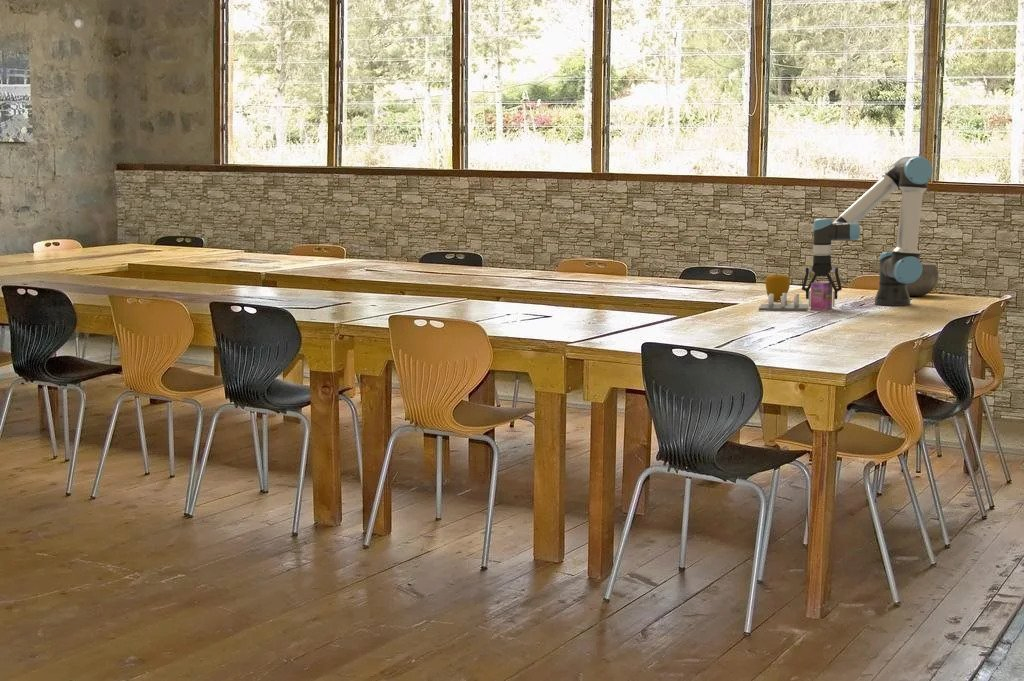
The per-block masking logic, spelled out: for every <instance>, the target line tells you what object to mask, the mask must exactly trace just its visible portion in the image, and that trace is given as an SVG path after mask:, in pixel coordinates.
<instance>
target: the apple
mask: <svg viewBox="0 0 1024 681" xmlns="http://www.w3.org/2000/svg"><path fill="white" fill-rule="evenodd" d="M764 282H765V289H766V290H765V291H766V294H767V297H768V296H769V295H770V294H774V300H781V296H783V293H787V294H788V293H789V290H790V285H791V284H790V279H789V276H788V275H787V274H778V273H777V272H776V274H772V273H771V274H768V275H767V276H766V277H765V281H764Z"/></svg>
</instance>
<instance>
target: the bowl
mask: <svg viewBox="0 0 1024 681" xmlns="http://www.w3.org/2000/svg"><path fill="white" fill-rule="evenodd" d="M921 264H922V263H921ZM938 280H939V271H938V267H937V266H936V265H935V264H922V274H921V276H920V277H919V278H918V279H917V280H916V281H914V282H912V283H907V290H908V293H909V297H910V296H911V297H913V296H914V297H915V296H916V297H920V296H921V297H922V296H926V295H928V294H930V293H931V292H933V290H934V289H935V287H936V286H937V284H938Z"/></svg>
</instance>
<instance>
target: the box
mask: <svg viewBox="0 0 1024 681" xmlns="http://www.w3.org/2000/svg"><path fill="white" fill-rule="evenodd" d="M810 291H811V306H810V311H820V312H821V311H822V312H823V311H826V310H830V309H832V308H833V287H832V285H831V283H830V281H829V280H819V281H814V282H813V283H811V288H810Z"/></svg>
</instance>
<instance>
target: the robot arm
mask: <svg viewBox="0 0 1024 681" xmlns="http://www.w3.org/2000/svg"><path fill="white" fill-rule="evenodd" d="M933 173H934V168H933V165H932V163H931V162H930V160H929V159H927V158H926V157H923V156H920V155H919V156H918V155H912V156H904V157H901V158H899V159H898V160H897V161H896V162H894V163H893V164H892V165H891V166H890V167H889V168H888V169H887V170H886V171H885V172H884V173H882V175H881V178H880V179H879V180H878V181H877V182H875V184H874V185H872V186H871V187H870V188H869V189H868V190H867V191H865V192H864V194H863V195H862V196H860V197H859V198H858V199H857V200H856V201H855V202H854V203H853V204H851V205H850V206H849V207H848V208H846V210H845V211H844V212H843V213H841V214H840V215H839V216H838V217H837V218H836V219H835V220H833V221H832V219H831V218H816V219H814V220H813V226H812V227H813V230H812V231H813V232H812V234H813V245H812V249H813V250H812V254H813V256H812V267H805V274H804V278H803V282H802V287H801V290H802V291H804V292H805V299H806V300H808V308H811V283H814V282H816V281H815V280H816V279H817V277H827V279H828V280H827V281H830V283H831V285H832V287H833V288H832V308H835V302H836V301H835V300H838V292H839V291H842V289H843V288H842V283H841V280H840V276H839V275H840V274H839V267H833V266H832V255H831V254H832V242H833V241H834V242H835V241H850V242H851V241H857V240H859V239H860V236H861V228H860V225H859V222H861V221H862V219H863V218H865V217H866V216H867V215H868V214H869V213H871V212H872V211H873V210H874V209H875V208H876V207H878V205H880V203H882V202H883V201H884V200H885V199H886V198H887V197H889V196H890V195H891V194H892V193H893V192H897V191H899V190H900V191H901V200H900V209H899V210H900V211H899V218H898V219H899V220H898V228H897V229H898V230H897V238H896V239H897V240H896V247H894V249H892V251H885V252H882V253H880V254H879V261H878V262H879V266H878V267H879V268H878V269H879V271H878V272H879V274H878V276H879V277H878V284H879V286H878V289H877V292H876V294H875V298H874V304H875V305H879V306H908V305H911V297H910V296H909V293H908V290H907V283H912V282H914V281H916V280H917V279H918V278H919V277H920V276H921V274H922V262H921V261H920V260H921V252H920V251H919V249H918V243H919V233H920V232H919V231H920V225H921V224H920V223H921V216H922V215H921V214H922V204H923V196H924V195H923V194H924V192H926V191H927V190H928V184H929V181H930V180H931V178H932V176H933ZM811 271H812V272H814V275H813V277H812V278H811V280H810V282H809V283H808V285H807V281H808V278H809V275H810V273H811ZM831 271H832V272H833V273H834V275H835V279H836V284H837V286H836V285H835V283H834V280H833V279H832V277H831V275H830V273H831ZM806 286H807V287H806Z"/></svg>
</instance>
